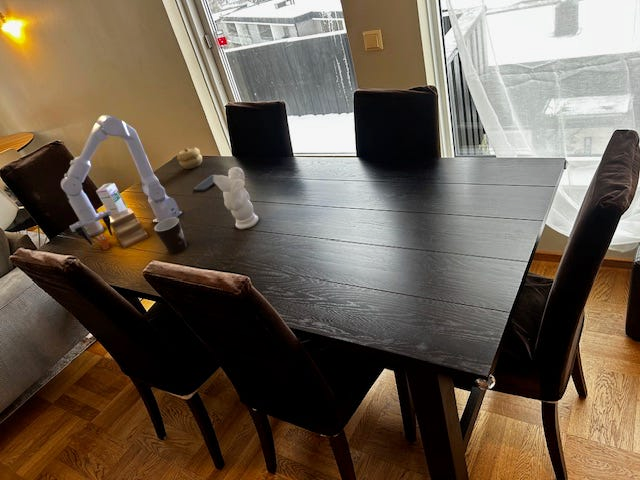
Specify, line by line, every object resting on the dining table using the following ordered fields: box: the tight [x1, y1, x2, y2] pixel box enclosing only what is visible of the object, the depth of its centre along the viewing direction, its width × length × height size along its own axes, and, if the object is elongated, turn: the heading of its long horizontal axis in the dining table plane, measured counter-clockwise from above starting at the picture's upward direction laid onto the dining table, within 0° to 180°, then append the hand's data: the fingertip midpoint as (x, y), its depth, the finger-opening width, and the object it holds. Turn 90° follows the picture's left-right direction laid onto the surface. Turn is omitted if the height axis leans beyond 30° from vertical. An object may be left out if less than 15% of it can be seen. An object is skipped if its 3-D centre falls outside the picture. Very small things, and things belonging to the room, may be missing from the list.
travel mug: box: [64, 193, 105, 237], centre depth 181 cm, size 6×7×20 cm
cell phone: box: [193, 174, 221, 191], centre depth 203 cm, size 7×14×1 cm, turn 150°
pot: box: [176, 147, 203, 170], centre depth 225 cm, size 12×12×10 cm
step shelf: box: [109, 207, 149, 249], centre depth 175 cm, size 20×10×6 cm, turn 34°
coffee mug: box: [153, 217, 188, 255], centre depth 156 cm, size 12×9×10 cm
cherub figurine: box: [213, 166, 259, 230], centre depth 155 cm, size 12×12×22 cm
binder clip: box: [96, 234, 111, 251], centre depth 171 cm, size 4×2×5 cm, turn 34°
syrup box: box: [95, 182, 129, 216], centre depth 191 cm, size 6×6×14 cm
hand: (101, 239), depth 170 cm, fingers open, 7 cm apart
